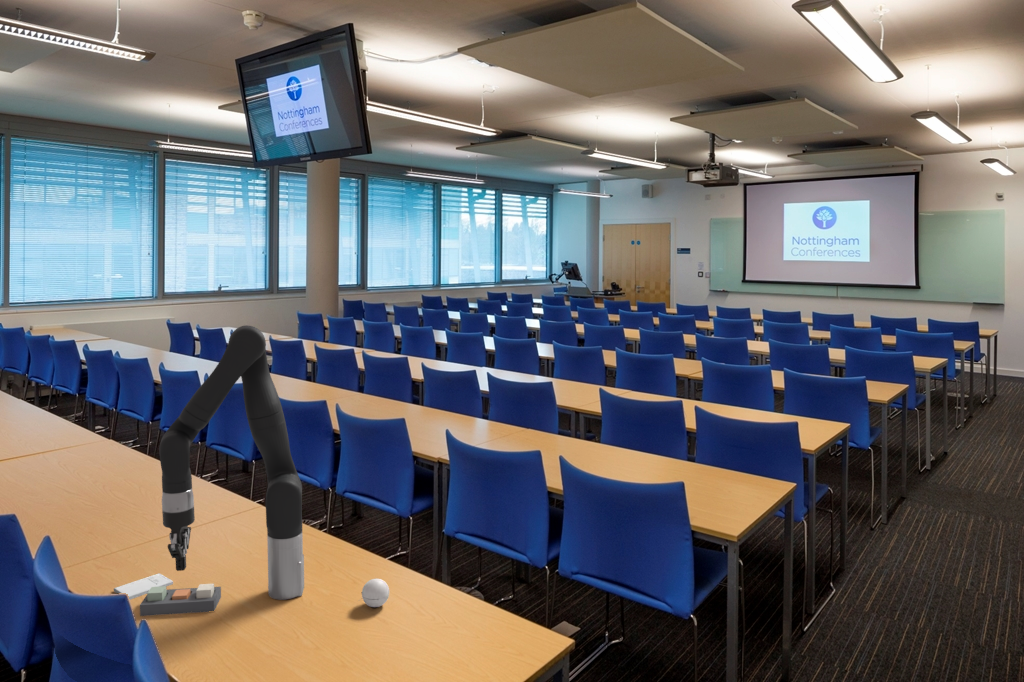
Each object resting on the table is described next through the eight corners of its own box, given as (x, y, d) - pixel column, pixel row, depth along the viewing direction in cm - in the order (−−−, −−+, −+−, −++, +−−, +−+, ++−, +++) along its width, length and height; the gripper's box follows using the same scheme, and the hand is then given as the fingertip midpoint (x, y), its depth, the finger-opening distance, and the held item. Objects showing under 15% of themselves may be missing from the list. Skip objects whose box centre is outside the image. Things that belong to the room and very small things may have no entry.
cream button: (214, 595, 190) (213, 583, 189) (211, 601, 186) (210, 589, 186) (200, 596, 189) (199, 584, 189) (196, 602, 186) (196, 590, 185)
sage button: (166, 598, 188) (166, 586, 187) (162, 604, 184) (162, 592, 184) (152, 599, 187) (151, 587, 187) (147, 605, 184) (147, 593, 183)
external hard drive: (113, 593, 194) (158, 577, 204) (127, 602, 189) (173, 585, 199) (113, 587, 194) (158, 572, 204) (127, 596, 189) (173, 580, 199)
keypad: (221, 596, 192) (220, 586, 192) (214, 611, 185) (213, 600, 184) (150, 601, 189) (149, 590, 189) (140, 616, 181) (139, 605, 181)
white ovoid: (379, 596, 195) (379, 571, 194) (394, 606, 190) (394, 580, 189) (347, 608, 188) (347, 582, 187) (362, 619, 183) (362, 592, 182)
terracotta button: (190, 601, 189) (190, 589, 189) (187, 607, 185) (186, 595, 185) (176, 601, 188) (176, 589, 188) (172, 608, 185) (172, 596, 184)
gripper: (186, 514, 178) (189, 579, 180) (199, 496, 191) (202, 557, 193) (154, 516, 176) (158, 581, 179) (170, 498, 189) (173, 559, 191)
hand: (181, 569), depth 186 cm, fingers closed
